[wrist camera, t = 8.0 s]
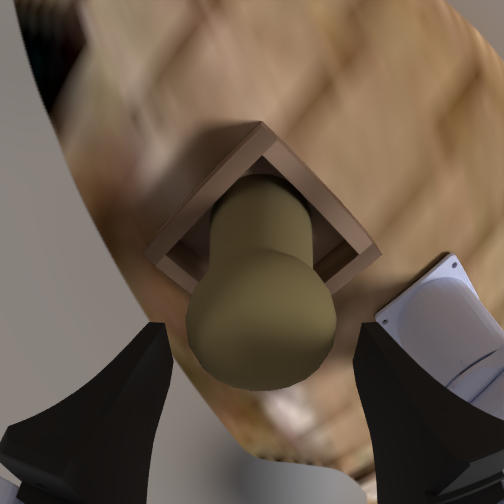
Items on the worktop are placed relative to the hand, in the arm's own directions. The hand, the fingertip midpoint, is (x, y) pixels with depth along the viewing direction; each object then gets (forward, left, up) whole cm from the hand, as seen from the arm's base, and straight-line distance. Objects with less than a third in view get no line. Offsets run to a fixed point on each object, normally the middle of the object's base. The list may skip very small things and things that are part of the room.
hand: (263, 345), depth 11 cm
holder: (0, 0, -10) cm, 10 cm away
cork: (+1, -1, -10) cm, 10 cm away
